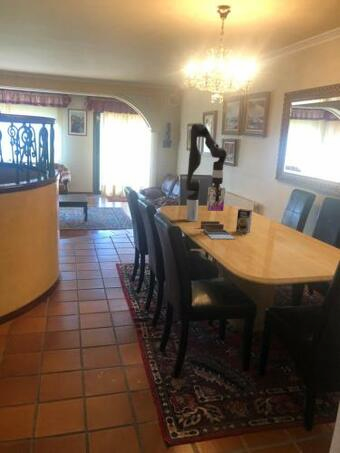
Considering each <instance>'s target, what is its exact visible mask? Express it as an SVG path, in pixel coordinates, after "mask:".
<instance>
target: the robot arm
mask: <svg viewBox="0 0 340 453" xmlns="http://www.w3.org/2000/svg"><path fill="white" fill-rule="evenodd" d="M198 138H204V139H205V140H204V144H205V145H206V147H207V148H208V149H209V151H210V155H211V156H212V157H213V158H215V159H218V160H217V161H213V165H212V166H213V167H212V175H211V183H212V184H213V185H212V186H211V187H214V188H216V189H215V193H216V198H215V201H216V202H218V201H219V196H220V194H221V187H222V186H221V185H222V184H223V181H224V164H225V161H226V159H227V155H228V153H227V152H228V151H227V149H226V148H225V147H220V146H219V143H218V142H217V141H216V140H215V138H214V137H213V136H212V134H211V133H210V130H209V129H208V126H206V125H205V124H203V123H202V124H199V123H198V124H197V123H196V124H195V123H194V124H192V126H191V128H190V144H189V145H190V146H189V156H188V167H187V168H188V169H187V174H186V181H185V182H186V183H185V190H186V191H187V192H188V191H189V192H192V193H191V194H188V195H187V196H186V210H185V221H187V222H192V223H193V222H198V215H199V214H198V213H199V200H200V189H201V181H200V179H198V178H197V179H196V178H195V179H194V178H193V175H194V173H195V172H196V171H197V170H198V168H199V166H200V165H201V164H202V163H201V162H202V152H201V150H200V148H199V146H198ZM216 191H217V192H216Z"/></svg>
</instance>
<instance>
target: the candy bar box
mask: <svg viewBox="0 0 340 453" xmlns="http://www.w3.org/2000/svg"><path fill="white" fill-rule="evenodd" d="M220 187H221V194H220V196H219V201H218V202H216V201H215V198H216V193H215V189H216V188H214V187H212V186H208V188H207V190H208V191H207V201H206V203H207V204H206V210H207V211H208V212H209V211H210V212H212V211H213V212H224V206H225V193H226V187H222V186H220ZM216 192H217V191H216Z"/></svg>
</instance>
